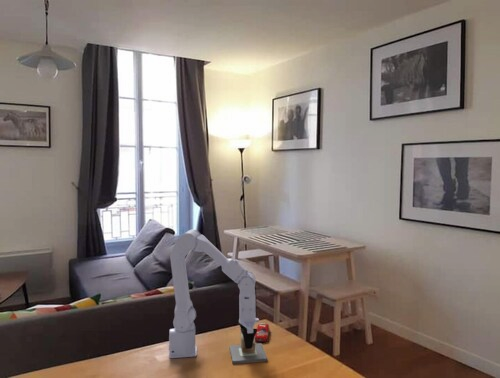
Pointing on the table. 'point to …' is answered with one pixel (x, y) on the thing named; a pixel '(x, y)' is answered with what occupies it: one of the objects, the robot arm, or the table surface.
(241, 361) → the base plate
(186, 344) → the robot arm
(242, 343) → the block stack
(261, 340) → the race car
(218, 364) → the table surface
